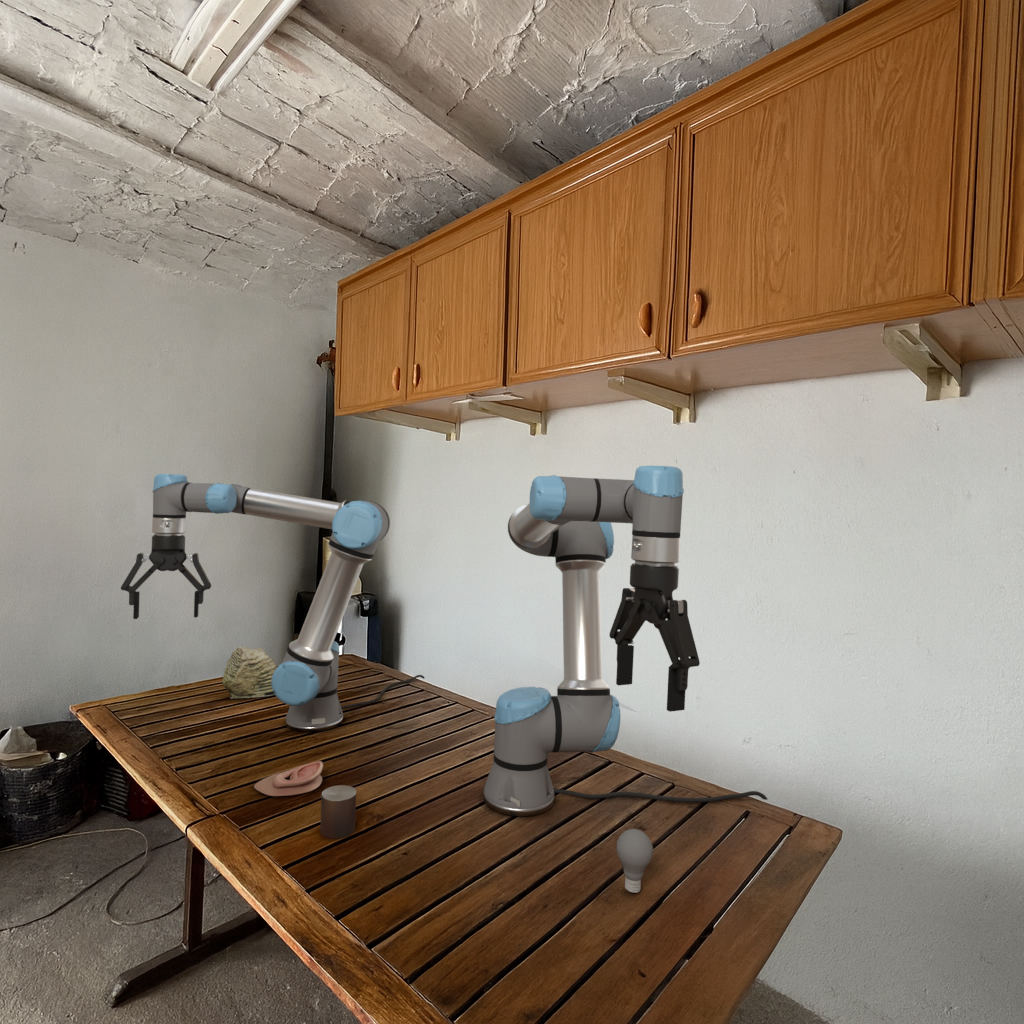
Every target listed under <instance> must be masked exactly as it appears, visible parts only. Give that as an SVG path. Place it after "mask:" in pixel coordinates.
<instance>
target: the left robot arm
mask: <svg viewBox="0 0 1024 1024" xmlns="http://www.w3.org/2000/svg"><path fill="white" fill-rule="evenodd" d="M187 513H206V514H207V513H208V514H216V515H217V514H231V513H233V514H239V515H246V516H252V517H259V518H264V519H270V520H275V521H281V522H287V523H293V524H298V525H305V526H309V527H316V528H321V529H328V530H332V533H331V536H330V538H329V540H328V543H327V545H328V548H329V549H330V556H329V558H328V560H327V563H326V565H325V568H324V571H323V573H322V576H321V578H320V580H319V584H318V586H317V589H316V591H315V594H314V596H313V599H312V602H311V604H310V606H309V609H308V612H307V614H306V617H305V620H304V622H303V624H302V627H301V630H300V632H299V635H298V637H297V639H295V640H293V641H291V642H289V644H288V646H287V649H286V652H285V654H284V657H283V659H282V662H281V663H280V664H279V665H278V666H276V670H275V671H274V673H273V676H272V680H271V685H272V689H273V691H274V693H275V695H274V696H275V697H276V698H277V699H278V700H279V701H280V702H281V703H283V704H286V705H287V706H289V708H288V711H287V713H286V715H285V726H286V728H287V729H289V730H291V731H294V732H295V731H296V732H301V733H316V732H325V731H329V730H332V729H335V728H337V727H339V726H340V725H342V723H343V722H344V714H343V709H349V708H353V707H358V706H365V705H368V704H372V703H375V702H377V701H379V700H380V699H381V697H382V696H383V694H384V693H386V691H387V690H388V689H390V688H392V687H393V686H398V685H401V684H406V683H409V682H412V681H414V680H415V679H417V678H422V679H426V677H425V676H424V675H422V674H417V675H414V676H413V677H411V678H409V679H405V680H401V681H396V682H394V683H391V684H388V685H387V686H386V687H384V688H383V690H382V691H380V693H379V694H378V696H377V697H376V698H374V699H370V700H367V701H363V702H362V701H361V702H356V703H351V704H346V705H341V702H340V699H339V695H338V682H339V662H340V661H339V660H340V659H339V657H340V645H339V643H338V642H337V641H335V639H336V636H337V634H338V631H339V629H340V626H341V624H342V621H343V618H344V616H345V613H346V610H347V608H348V605H349V602H350V600H351V597H352V595H353V592H354V590H355V587H356V585H357V583H358V579H359V578H360V574H361V572H362V569H363V566H364V564H366V563H369V562H370V561H372V560H373V557H374V555H375V552H376V551H377V547H378V545H379V543H380V541H382V540H383V539H384V538H385V537H386V536H387V534H388V533H389V531H390V527H391V519H390V515H389V513H388V511H387V509H386V508H385V507H384V506H383V505H381V504H380V503H378V502H375V501H371V500H365V501H364V500H354V501H353V500H347V499H345V500H344V501H342V502H336V501H332V500H327V499H319V498H313V497H307V496H303V495H302V496H301V495H297V494H295V495H294V494H290V493H283V492H279V491H272V490H266V489H260V488H255V487H248V486H243V485H241V484H234V483H232V484H227V483H220V482H216V483H211V482H210V483H209V482H208V483H207V482H189V481H188V477H187V476H186V475H185V474H173V473H157V474H156V475H155V476H154V478H153V489H152V519H151V520H152V523H151V524H152V526H151V533H153V535H152V536H151V551H150V553H149V554H148V553H143V552H139V553H137V554H136V558H135V563H134V565H133V566H132V567H131V569H130V571H129V573H128V575H126V578H125V579H124V581H123V583H122V585H121V586H120V590H121V591H125V592H128V606H133V615H132V616H133V617H132V618H133V620H138V619H139V618H140V592H141V591H137V590H138V589H140V587H141V586H142V585H143V584H144V583H145V582H146V581H147V580H148V579H149V578H150V577H151V576H152V575H153V574H154V573H155V572H156V571H157V570H158V571H160V572H167V571H168V572H175V571H179V573H181V574H182V575H183V576H184V577H185V578H186V580H187V581H188V582H189V583H190V584H191V586H193V587H194V588H195V589H196V590H195V591H194V597H193V598H194V599H193V601H194V602H193V618H198V617H199V605H203V603H204V594H205V593H204V592H205V591H207V590H210V589H211V588H212V583H211V581H210V579H209V577H208V575H207V574H206V572H205V570H204V569H203V566H202V564H201V562H200V557H199V553H198V552H194V553H189V554H187V553H186V536H185V533H186V529H187V528H186V527H187V518H186V517H187ZM147 560H149V561H150V563H152V565H151V567H149V569H147V571H146V572H145V573H143V575H142V576H141V577H140V578H139V579H138V580H137V581H136V582H135V583H134V584H132V585H131V583H132V581H134V579H135V577H136V575H137V574H138V572H139V570H140V568H141V567H142V565H143V563H145V562H147ZM186 560H188V561H189V562H190V563H192V564H193V567H194V569H195V570H196V572H197V574H198V576H199V578H200V580H201V582H202V583H200V581H199V580H198V579H197V578H196V577H195V576H194V574H192V572H191V571H190V570H189V569H188V568H187V567H186V566H185V565H184V563H185V562H186Z"/></svg>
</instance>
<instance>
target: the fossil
mask: <svg viewBox="0 0 1024 1024" xmlns="http://www.w3.org/2000/svg"><path fill="white" fill-rule="evenodd" d="M276 668H277V665H276V663H275V662H274V660H273V659H272V658H271V657H270V656H269V655H268V654H267V653H266V652H265V650H264V649H263V648H260V647H258V648H251V647H247V646H246V647H245V646H238V647H237V648H236V649H235V650H233V651H232V653H231V656H230V657H229V659H228V660H227V663H226V666H225V668H224V671H223V675H222V676H223V677H222V685H223V687H224V688H225V690H226V691H228V693H229V698H230V699H250V698H264V697H271V696H276V695H275V693H274V691H273V689H272V685H271V680H272V676H273V673H274V671H275V670H276Z"/></svg>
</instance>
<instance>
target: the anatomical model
mask: <svg viewBox="0 0 1024 1024" xmlns="http://www.w3.org/2000/svg"><path fill="white" fill-rule="evenodd" d="M323 768H324V763H323V761H321V760H318V761H312V762H309V763H306V764H303V765H299V766H297V767H294V768H291V769H288V770H286V771H283V772H278V773H275V774H272V775H269V776H267V777H265V778H263V779H260V780H259V781H257V782H256V783H255V784H254V785H253V788H254V789H255V790H256V791H257V792H259V793H261V794H264V795H266V796H268V797H269V796H270V797H284V796H295V795H301V794H305V793H308V792H312V791H315V790H316V789H317V788H319V787H320V786H321V784H322V783H323V777H322V775H321V774H322V771H323Z"/></svg>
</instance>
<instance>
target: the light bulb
mask: <svg viewBox="0 0 1024 1024" xmlns="http://www.w3.org/2000/svg"><path fill="white" fill-rule="evenodd" d="M615 849H616V854H617V857H618V859H619V861H620V863H621V865H622V867H623V873H624V874H623V875H624V876H625V878H624V888H625V890H627V891H628V892H630V893H634V894H635V893H639V892H640V891H641V889H642V887H641V886H642V879H643V877H644V875H645V871H646V868H647V867H648V866H649V864H650V863H651V861H652V859H653V855H654V847H653V843H652V841H651V838H649V836H648V835H647V834H646V833H645V832H643V831H642V830H641V829H636V828H629V829H627V830H625V831H623V832H622V833H621V834H620V835H619V837H618V839H617V841H616V847H615Z"/></svg>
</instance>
